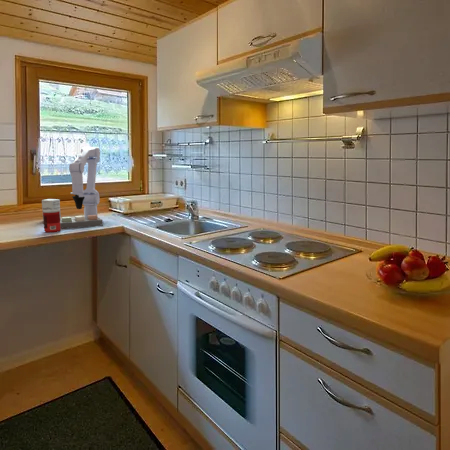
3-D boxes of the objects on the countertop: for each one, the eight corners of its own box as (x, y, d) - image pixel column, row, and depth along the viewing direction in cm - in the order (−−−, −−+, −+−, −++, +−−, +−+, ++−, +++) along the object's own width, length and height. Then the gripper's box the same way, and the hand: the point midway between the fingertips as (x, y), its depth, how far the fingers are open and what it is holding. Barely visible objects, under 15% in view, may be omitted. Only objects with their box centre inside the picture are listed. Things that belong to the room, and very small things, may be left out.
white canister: (42, 221, 235) (41, 200, 233) (50, 219, 242) (49, 198, 240) (53, 221, 234) (51, 200, 231) (61, 219, 241) (59, 199, 238)
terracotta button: (87, 220, 227) (87, 215, 226) (95, 219, 229) (95, 214, 228) (89, 221, 223) (89, 216, 222) (97, 220, 225) (97, 215, 225)
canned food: (64, 230, 208) (62, 209, 206) (53, 233, 200) (51, 211, 198) (52, 229, 210) (50, 209, 208) (41, 232, 203) (39, 211, 201)
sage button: (61, 222, 219) (61, 217, 219) (70, 221, 222) (69, 216, 221) (63, 223, 216) (62, 218, 215) (71, 223, 218) (71, 217, 217)
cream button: (75, 221, 223) (74, 216, 222) (83, 220, 225) (82, 215, 225) (76, 222, 219) (76, 217, 219) (84, 221, 222) (84, 216, 221)
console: (57, 225, 222) (57, 220, 221) (97, 221, 233) (97, 216, 233) (61, 228, 212) (60, 223, 211) (102, 225, 223) (102, 219, 223)
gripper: (67, 183, 222) (69, 207, 225) (72, 185, 210) (74, 210, 213) (80, 183, 226) (81, 206, 229) (86, 185, 214) (87, 209, 216)
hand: (79, 208), depth 221 cm, fingers closed
